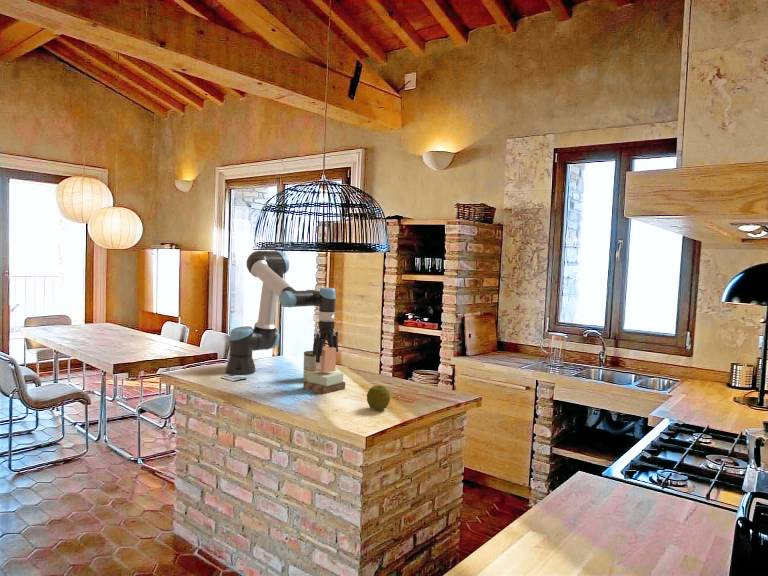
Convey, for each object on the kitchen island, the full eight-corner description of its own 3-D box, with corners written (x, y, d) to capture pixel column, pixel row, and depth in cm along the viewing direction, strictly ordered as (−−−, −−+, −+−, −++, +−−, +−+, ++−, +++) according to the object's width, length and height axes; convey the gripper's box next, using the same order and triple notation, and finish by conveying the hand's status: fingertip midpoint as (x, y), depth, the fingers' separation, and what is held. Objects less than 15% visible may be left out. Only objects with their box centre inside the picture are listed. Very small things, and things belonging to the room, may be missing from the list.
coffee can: (305, 376, 295) (306, 350, 294) (325, 378, 294) (326, 351, 293) (300, 381, 285) (301, 353, 284) (320, 382, 284) (321, 354, 283)
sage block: (307, 381, 270) (307, 373, 270) (323, 377, 280) (324, 369, 280) (326, 386, 263) (326, 377, 263) (342, 381, 273) (343, 373, 273)
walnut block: (303, 389, 271) (303, 381, 271) (324, 384, 282) (324, 376, 282) (323, 395, 262) (324, 386, 262) (344, 390, 273) (345, 382, 273)
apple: (361, 407, 243) (362, 382, 242) (380, 405, 248) (381, 380, 247) (375, 414, 234) (376, 387, 234) (394, 411, 240) (395, 385, 239)
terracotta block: (314, 370, 271) (315, 347, 270) (325, 368, 276) (326, 345, 276) (324, 372, 267) (325, 349, 266) (335, 370, 272) (336, 347, 271)
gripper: (316, 322, 260) (314, 372, 262) (347, 319, 275) (345, 366, 276) (305, 320, 265) (303, 369, 266) (336, 318, 280) (334, 364, 281)
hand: (324, 368), depth 271 cm, fingers closed on terracotta block, 7 cm apart
